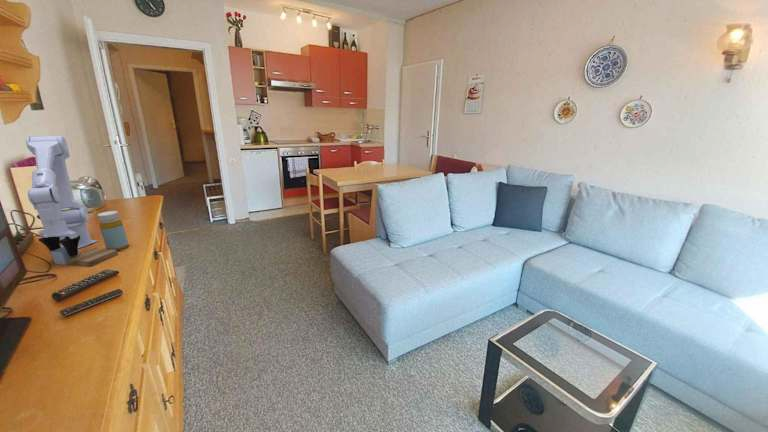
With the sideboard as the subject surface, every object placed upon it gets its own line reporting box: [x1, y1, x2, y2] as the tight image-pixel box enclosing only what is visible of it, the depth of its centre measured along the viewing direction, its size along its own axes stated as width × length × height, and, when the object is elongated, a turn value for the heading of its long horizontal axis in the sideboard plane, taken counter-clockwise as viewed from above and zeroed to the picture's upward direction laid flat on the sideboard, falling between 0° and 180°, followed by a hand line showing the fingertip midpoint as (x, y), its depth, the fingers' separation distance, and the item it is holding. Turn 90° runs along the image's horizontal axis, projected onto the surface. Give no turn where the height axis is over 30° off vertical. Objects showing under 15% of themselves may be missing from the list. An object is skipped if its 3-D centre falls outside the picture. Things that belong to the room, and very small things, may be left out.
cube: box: [50, 247, 80, 266], centre depth 116 cm, size 5×5×5 cm
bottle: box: [96, 210, 130, 252], centre depth 125 cm, size 7×7×15 cm
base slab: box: [67, 247, 119, 268], centre depth 117 cm, size 10×10×2 cm
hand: (65, 254), depth 116 cm, fingers open, 7 cm apart
